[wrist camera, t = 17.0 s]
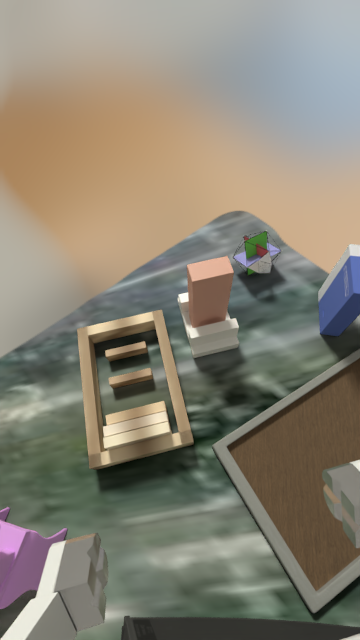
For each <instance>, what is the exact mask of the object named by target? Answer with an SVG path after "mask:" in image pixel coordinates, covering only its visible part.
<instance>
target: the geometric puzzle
mask: <svg viewBox="0 0 360 640" xmlns="http://www.w3.org/2000/svg"><path fill="white" fill-rule="evenodd" d="M259 233H260V232H259ZM267 233H268V232H267V230H266V231H264V232H263V233H261V234H259V235H257V236H255V237H252V238H251V237H250V239H249V238H247V235H246V237H245V235H244V237H243V238H244V242H245V252H243V253H241V254H239V255H236V256H233V257H232V258H234V259H236V260H237V261H239V262H240V263H241V264H243V265H244V266H245V267H247V276H248V275H250V274H252V273H254V272H257V273H265V274H266V273H270V271H271V266H272V261H273V260H274V259H275V258H274V259H273V260H272V261H271V257H270V256H272V255H274V254H276V253H278V252H280V251H282V250H281V249H278V248H276V247H274V246H273V245H271V244H269V243H268V242H267V240H268V237H267ZM255 234H256V233H255ZM250 235H251V234H250ZM274 242H275V241H274ZM241 246H242V245H241ZM277 246H278V245H277ZM237 249H238V248H237ZM239 249H240V248H239ZM239 249H238V250H239ZM236 251H237V250H236ZM235 253H237V252H235ZM234 255H235V254H234ZM277 259H278V258H277ZM237 261H236V262H237ZM276 261H277V260H276ZM240 267H241V266H240ZM244 272H245V271H244ZM245 273H246V272H245ZM256 275H257V274H256Z"/></svg>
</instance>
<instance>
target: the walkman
mask: <svg viewBox="0 0 360 640" xmlns="http://www.w3.org/2000/svg"><path fill="white" fill-rule="evenodd" d="M318 297H319V321H320V334H324V335H332V336H339V335H340V334H341V333H342V332H343V331H344V330H345V329H346V328H347V327H348V326H349V325H350V324H351V323H352V322H353V321H354V320H355V319H356V318H357V317H358V316H359V314H360V246H359V245H353V244H350V245H349V246H348V247H347V249H346V250H345V252H344V254H343V255H342V257H341V258H340V260H339V261H338V263H337V264H336V265H335V267H334V268H333V270H332V271H331V273H330V275H329V276H328V278H327V279H326V281H325V282H324V284H323V286H322V287H321V289H320V290H319V292H318Z"/></svg>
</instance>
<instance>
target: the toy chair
mask: <svg viewBox="0 0 360 640" xmlns="http://www.w3.org/2000/svg"><path fill="white" fill-rule="evenodd" d="M9 510H10V508H8V507H7V508H5V509H3V510H1V511H0V609H4V608H6V607H7V606H9V605H10V604H11V603H12V602H14V601H15V600H16V599H17V598H18V597H19V596H21V595H22V594H23V593H25V592H26V591H28V590H37V591H38V587H39V584H40V580H41V577H42V573H43V569H44V566H45V562H46V559H47V555H48V552H49V549H50V547H51V545H52V544H53V543H57V542H61V541H63V540H64V538H65V535H66V532H67V528H64V529H63V530H61V531H60V532H58V533H57V534H55V535H53V536H52V537H49V538H43V537H42V536H41V535H39V534H38V533H37V532H36V531H33V530H28V529H24V528H21V527H19V526H16V525H13V524H10V523H7V522H4V521H5V519H6V517H7V515H8V512H9Z"/></svg>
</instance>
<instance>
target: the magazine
mask: <svg viewBox="0 0 360 640" xmlns="http://www.w3.org/2000/svg"><path fill="white" fill-rule="evenodd" d="M357 634H360V627H351V626H341V625H332V624H323V623H312V622H300V621H286V620H270V619H248V618H211V617H148V618H130V616H125V617H124V626H122V636H121V640H341V639H344V638H347V637H350V636H354V635H357Z"/></svg>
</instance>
